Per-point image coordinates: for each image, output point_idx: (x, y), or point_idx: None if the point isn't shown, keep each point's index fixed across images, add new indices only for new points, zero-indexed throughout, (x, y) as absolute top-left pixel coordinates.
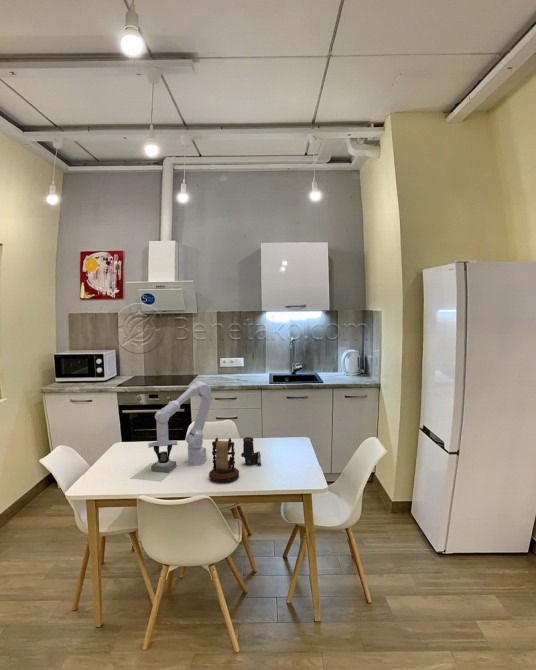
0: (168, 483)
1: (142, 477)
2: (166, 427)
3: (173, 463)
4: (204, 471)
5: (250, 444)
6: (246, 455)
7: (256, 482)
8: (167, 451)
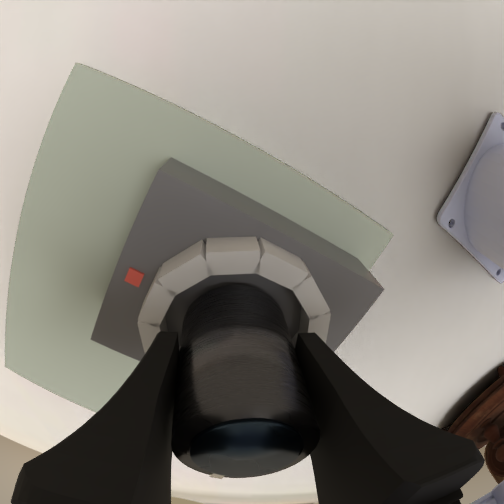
0: None
1: (74, 383)
2: None
3: (343, 339)
4: (475, 348)
5: None
6: None
7: None
8: (318, 498)
